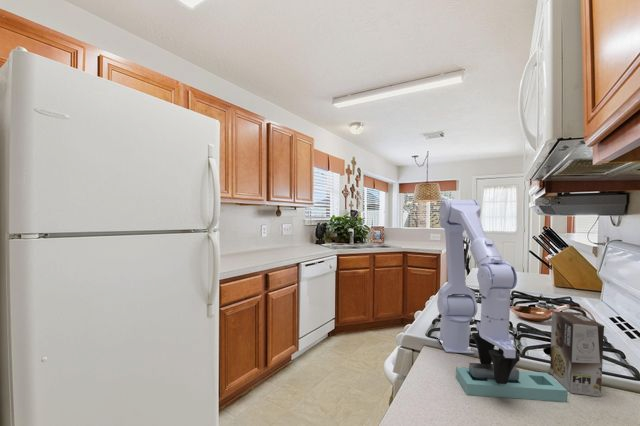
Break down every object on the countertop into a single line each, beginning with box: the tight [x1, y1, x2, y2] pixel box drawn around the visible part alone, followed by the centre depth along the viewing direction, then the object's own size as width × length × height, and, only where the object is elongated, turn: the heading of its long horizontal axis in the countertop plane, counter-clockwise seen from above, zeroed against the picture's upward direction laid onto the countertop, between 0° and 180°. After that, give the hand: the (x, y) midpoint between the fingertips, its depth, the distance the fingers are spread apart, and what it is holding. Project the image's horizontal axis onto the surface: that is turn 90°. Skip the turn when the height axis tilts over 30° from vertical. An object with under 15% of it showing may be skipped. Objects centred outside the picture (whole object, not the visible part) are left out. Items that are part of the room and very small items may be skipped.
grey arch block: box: [468, 362, 520, 383], centre depth 71 cm, size 2×10×5 cm, turn 85°
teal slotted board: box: [455, 366, 569, 403], centre depth 71 cm, size 21×7×2 cm, turn 85°
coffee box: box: [549, 310, 605, 397], centre depth 73 cm, size 9×6×16 cm
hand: (492, 373), depth 71 cm, fingers open, 7 cm apart
